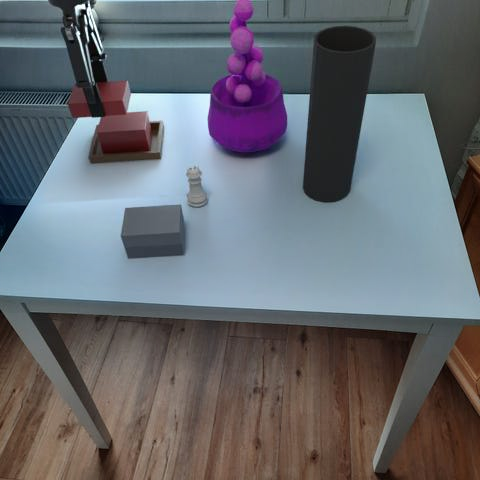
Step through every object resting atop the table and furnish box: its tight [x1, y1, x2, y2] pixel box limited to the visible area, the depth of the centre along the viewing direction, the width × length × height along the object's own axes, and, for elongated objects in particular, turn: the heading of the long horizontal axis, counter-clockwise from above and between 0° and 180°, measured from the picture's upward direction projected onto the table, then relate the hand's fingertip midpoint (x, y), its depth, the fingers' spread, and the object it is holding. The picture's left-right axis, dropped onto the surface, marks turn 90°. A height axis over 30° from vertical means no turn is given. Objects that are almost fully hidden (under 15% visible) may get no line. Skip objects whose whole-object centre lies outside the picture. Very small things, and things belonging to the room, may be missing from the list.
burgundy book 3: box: [101, 125, 152, 154], centre depth 113 cm, size 11×8×3 cm
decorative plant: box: [207, 0, 288, 153], centre depth 102 cm, size 19×18×30 cm
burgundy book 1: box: [67, 80, 132, 119], centre depth 96 cm, size 11×8×3 cm
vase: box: [302, 25, 377, 203], centre depth 90 cm, size 10×10×30 cm
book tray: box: [87, 120, 165, 165], centre depth 114 cm, size 17×14×3 cm
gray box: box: [120, 203, 186, 260], centre depth 92 cm, size 11×8×6 cm
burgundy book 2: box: [97, 110, 151, 144], centre depth 110 cm, size 11×8×3 cm
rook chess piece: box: [185, 165, 209, 208], centre depth 98 cm, size 4×4×8 cm
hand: (102, 104), depth 97 cm, fingers closed on burgundy book 1, 8 cm apart
